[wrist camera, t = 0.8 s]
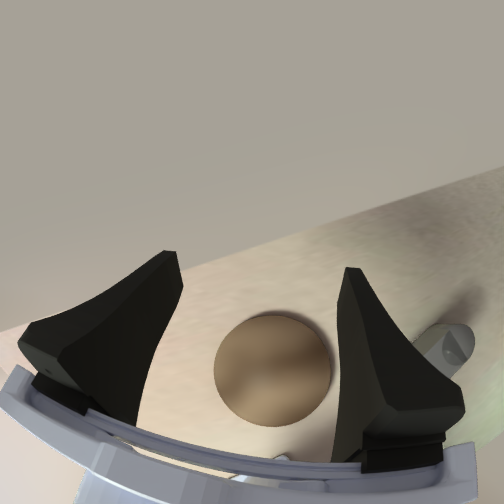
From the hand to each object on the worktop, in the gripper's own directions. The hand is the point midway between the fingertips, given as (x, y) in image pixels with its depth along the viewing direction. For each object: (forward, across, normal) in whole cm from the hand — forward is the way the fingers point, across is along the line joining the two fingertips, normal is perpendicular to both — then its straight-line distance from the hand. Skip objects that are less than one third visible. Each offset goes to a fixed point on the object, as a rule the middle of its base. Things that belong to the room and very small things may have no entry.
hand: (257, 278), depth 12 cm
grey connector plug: (+6, -14, +15) cm, 21 cm away
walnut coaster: (+5, 0, +16) cm, 17 cm away
